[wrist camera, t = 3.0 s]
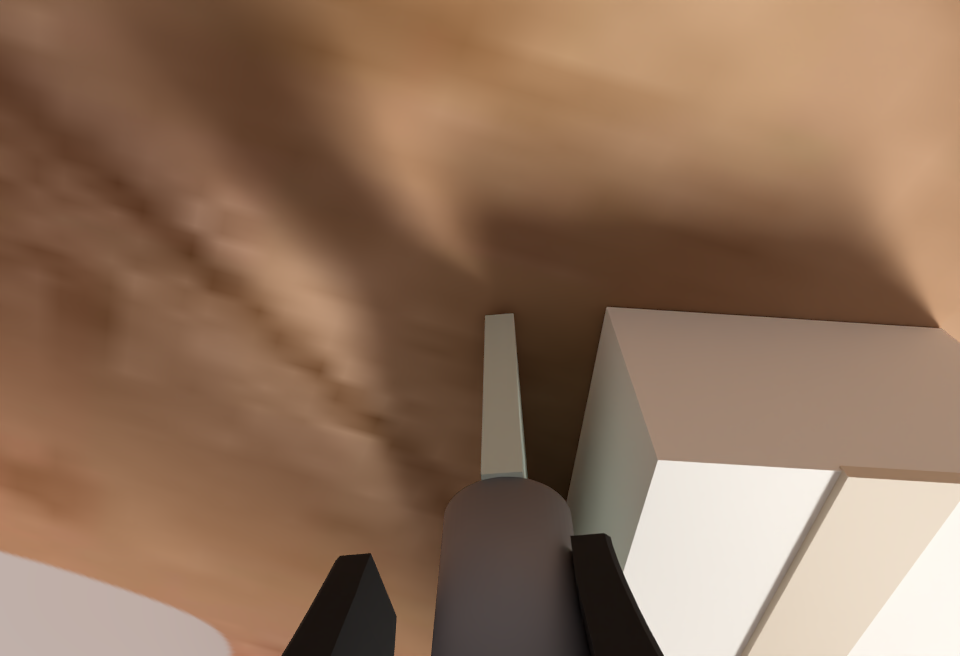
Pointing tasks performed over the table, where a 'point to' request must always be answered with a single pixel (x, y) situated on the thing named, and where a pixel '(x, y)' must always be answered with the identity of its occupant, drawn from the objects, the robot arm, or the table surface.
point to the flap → (506, 538)
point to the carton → (777, 482)
